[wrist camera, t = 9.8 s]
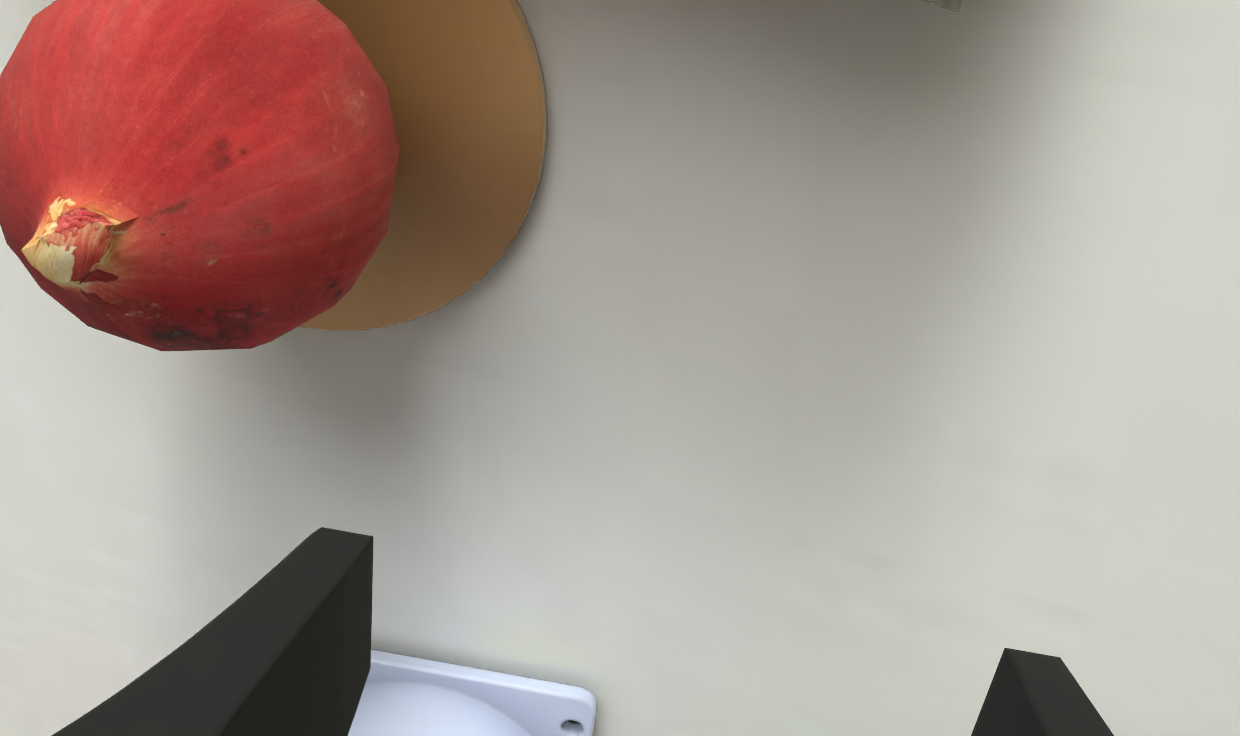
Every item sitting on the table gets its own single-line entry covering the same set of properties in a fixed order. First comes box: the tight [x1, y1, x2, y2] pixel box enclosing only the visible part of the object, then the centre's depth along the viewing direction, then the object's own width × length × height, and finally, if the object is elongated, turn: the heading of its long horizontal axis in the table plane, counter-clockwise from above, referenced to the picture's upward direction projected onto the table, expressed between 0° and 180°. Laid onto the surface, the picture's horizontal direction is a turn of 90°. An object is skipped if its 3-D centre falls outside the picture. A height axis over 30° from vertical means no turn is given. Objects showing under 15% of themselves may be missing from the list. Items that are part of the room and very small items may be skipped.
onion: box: [0, 0, 400, 351], centre depth 18 cm, size 6×6×8 cm
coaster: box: [299, 0, 547, 330], centre depth 22 cm, size 9×9×1 cm
